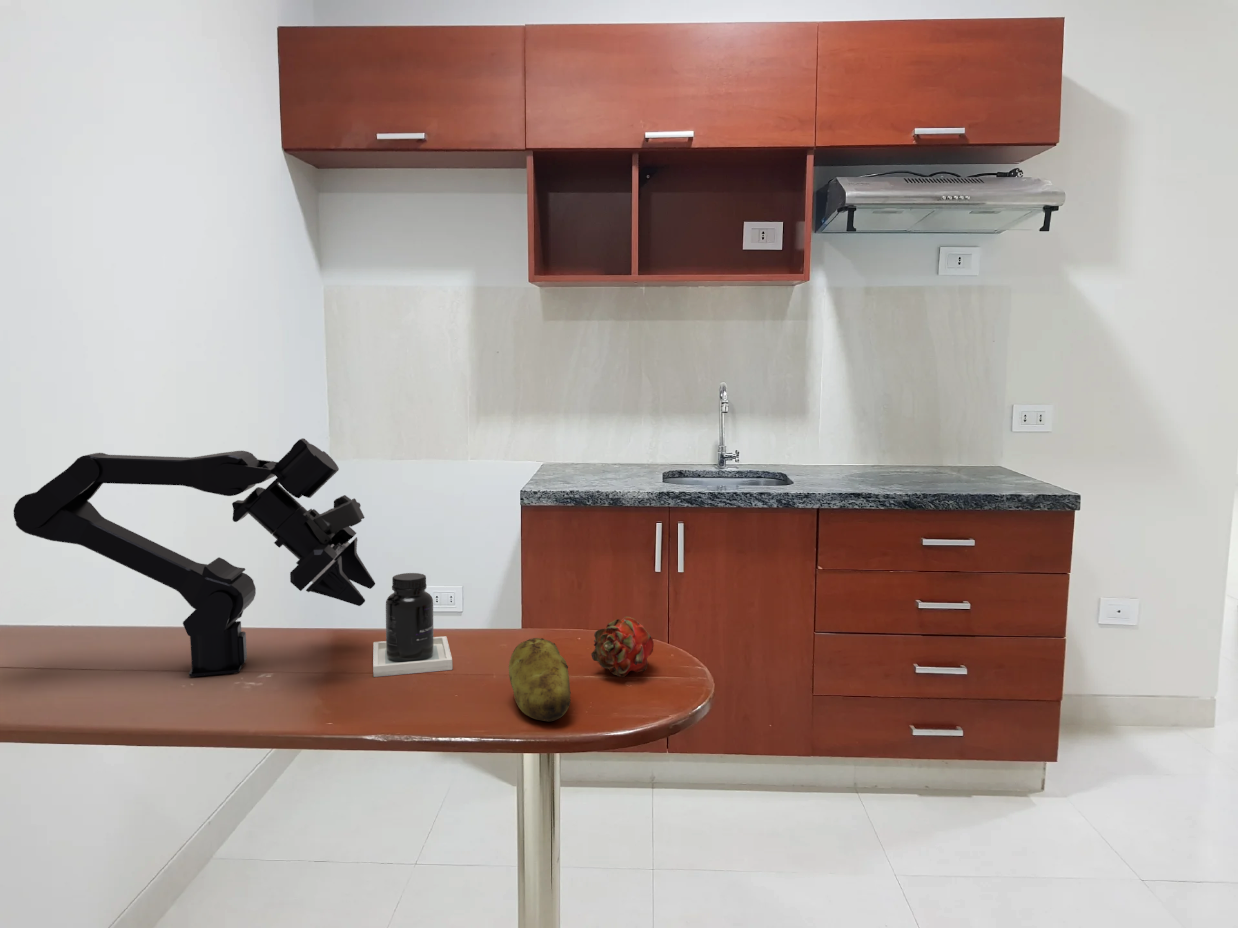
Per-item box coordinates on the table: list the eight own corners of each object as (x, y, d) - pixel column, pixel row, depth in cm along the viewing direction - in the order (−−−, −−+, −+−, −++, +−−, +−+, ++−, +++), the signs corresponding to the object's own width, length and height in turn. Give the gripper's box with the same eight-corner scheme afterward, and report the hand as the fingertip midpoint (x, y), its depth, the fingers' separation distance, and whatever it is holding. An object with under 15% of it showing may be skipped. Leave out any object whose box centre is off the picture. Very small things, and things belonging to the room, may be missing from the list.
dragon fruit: (610, 699, 115) (622, 679, 127) (661, 664, 115) (669, 648, 126) (575, 646, 116) (590, 631, 128) (626, 612, 115) (636, 600, 127)
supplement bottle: (432, 662, 123) (431, 581, 121) (384, 664, 122) (382, 583, 120) (435, 646, 129) (433, 569, 128) (389, 648, 128) (387, 571, 127)
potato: (501, 729, 102) (500, 665, 101) (512, 688, 115) (511, 631, 114) (570, 729, 102) (569, 665, 101) (573, 688, 115) (573, 631, 114)
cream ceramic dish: (373, 676, 119) (373, 666, 119) (373, 651, 129) (373, 642, 129) (452, 669, 122) (452, 659, 122) (446, 645, 132) (446, 636, 132)
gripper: (313, 490, 112) (399, 571, 114) (340, 472, 130) (414, 542, 133) (252, 549, 112) (340, 629, 114) (288, 523, 130) (363, 592, 133)
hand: (368, 594), depth 124 cm, fingers open, 9 cm apart
